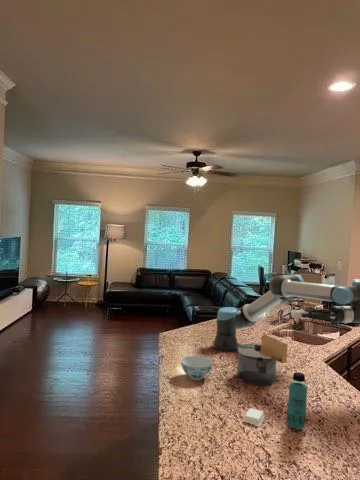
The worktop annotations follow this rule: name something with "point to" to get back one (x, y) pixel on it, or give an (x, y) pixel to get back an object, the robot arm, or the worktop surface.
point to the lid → (265, 349)
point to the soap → (254, 416)
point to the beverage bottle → (297, 402)
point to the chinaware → (196, 366)
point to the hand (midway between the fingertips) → (292, 314)
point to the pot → (256, 370)
